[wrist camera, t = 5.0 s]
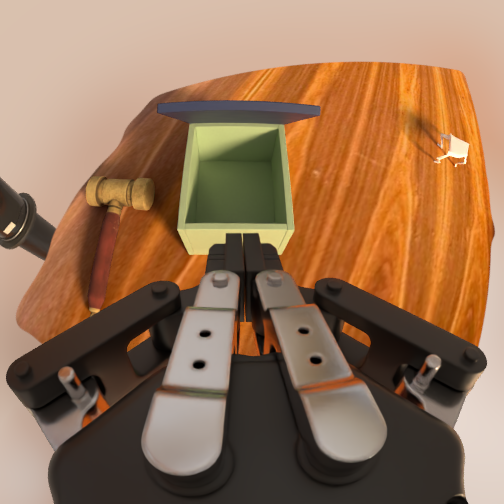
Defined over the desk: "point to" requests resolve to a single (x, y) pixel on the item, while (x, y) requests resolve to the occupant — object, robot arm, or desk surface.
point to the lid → (238, 111)
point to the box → (235, 185)
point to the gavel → (112, 224)
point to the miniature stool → (454, 148)
